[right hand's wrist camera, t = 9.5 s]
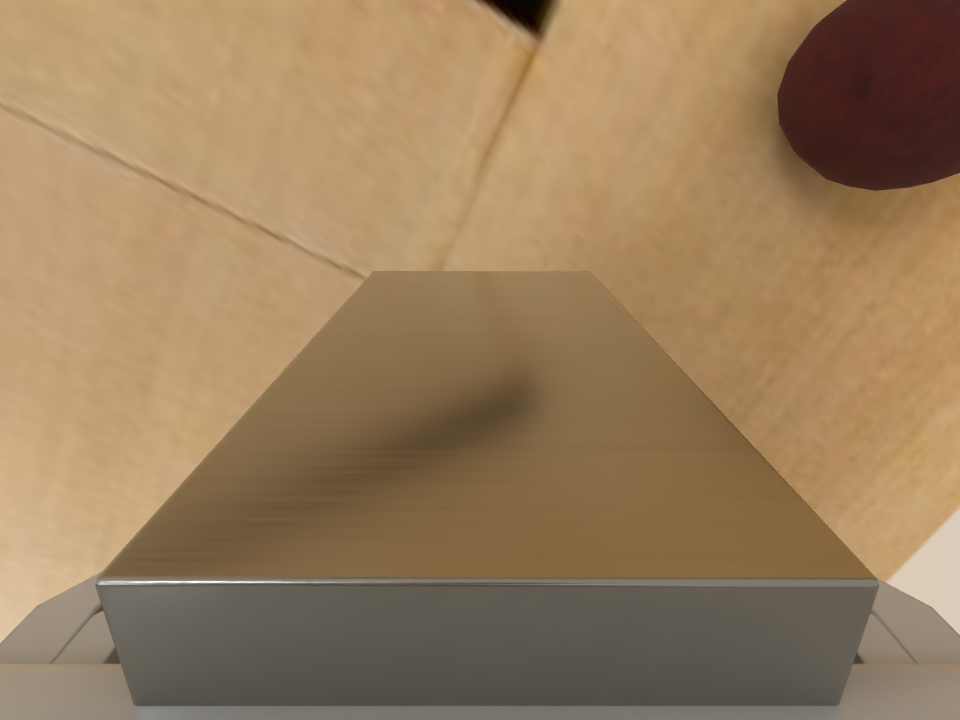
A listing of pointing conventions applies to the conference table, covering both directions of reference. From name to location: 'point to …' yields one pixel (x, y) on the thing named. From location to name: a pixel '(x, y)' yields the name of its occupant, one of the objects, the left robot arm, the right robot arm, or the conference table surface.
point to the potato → (877, 94)
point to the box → (485, 525)
